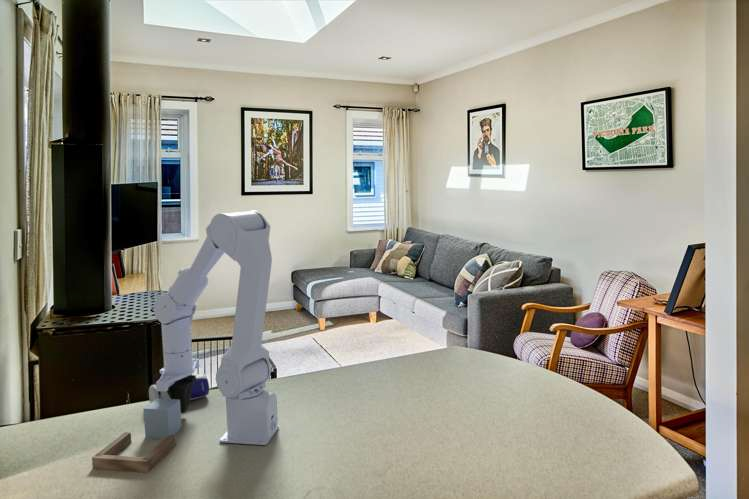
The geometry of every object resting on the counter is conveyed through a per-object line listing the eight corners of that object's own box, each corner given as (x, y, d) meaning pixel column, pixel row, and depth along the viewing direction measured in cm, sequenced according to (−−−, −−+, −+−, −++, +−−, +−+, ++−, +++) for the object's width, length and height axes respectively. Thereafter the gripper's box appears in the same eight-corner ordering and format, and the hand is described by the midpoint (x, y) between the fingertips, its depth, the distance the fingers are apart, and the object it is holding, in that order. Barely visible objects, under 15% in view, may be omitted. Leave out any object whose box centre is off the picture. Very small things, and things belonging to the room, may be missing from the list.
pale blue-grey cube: (182, 426, 114) (181, 398, 113) (169, 439, 109) (167, 409, 108) (160, 425, 115) (158, 397, 114) (145, 437, 110) (143, 408, 109)
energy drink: (157, 401, 119) (211, 387, 127) (150, 380, 122) (203, 368, 129) (153, 414, 123) (206, 400, 130) (147, 394, 125) (199, 381, 133)
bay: (175, 445, 106) (175, 435, 106) (147, 472, 96) (146, 461, 96) (125, 441, 108) (124, 432, 107) (92, 468, 98) (91, 457, 98)
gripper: (177, 338, 124) (180, 396, 126) (140, 360, 110) (144, 425, 112) (206, 339, 123) (209, 398, 125) (173, 361, 109) (177, 427, 111)
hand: (181, 411), depth 119 cm, fingers closed
